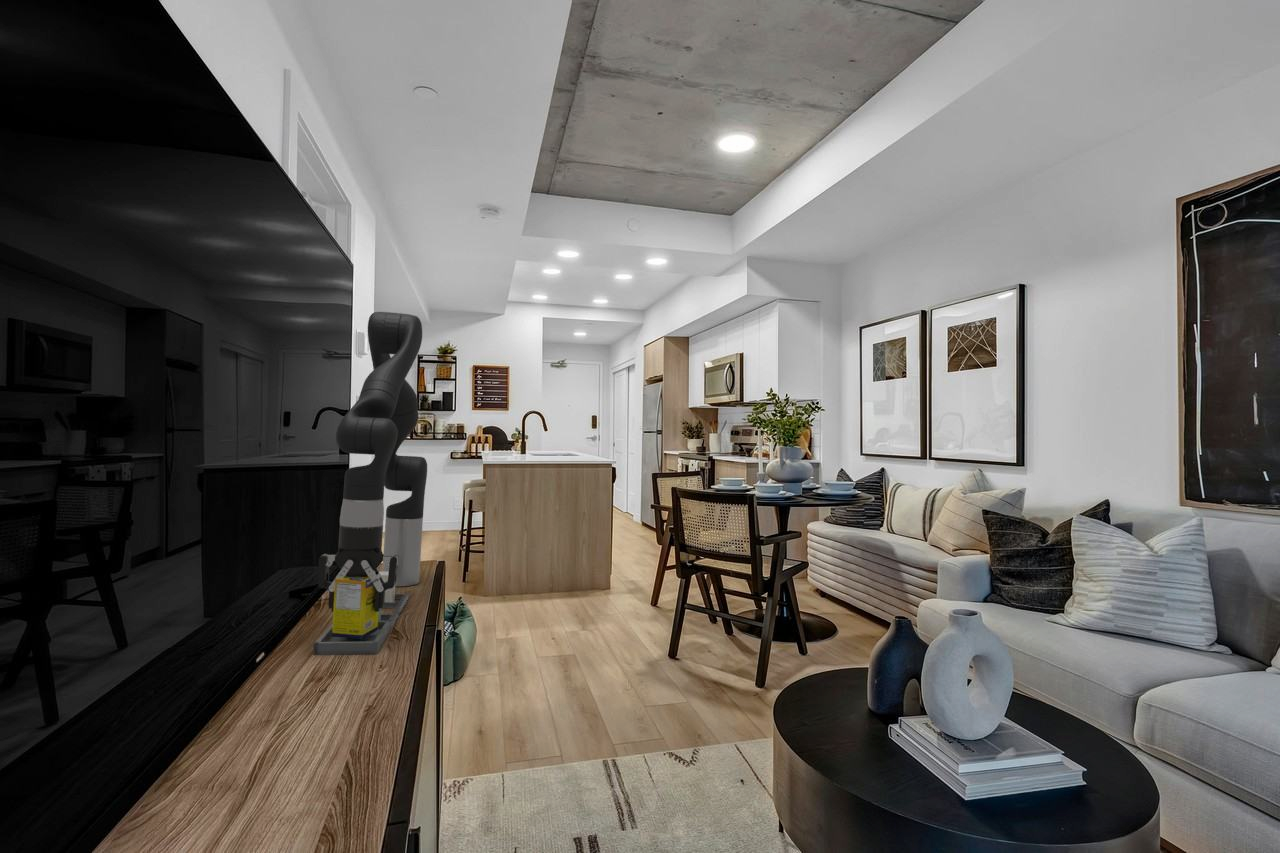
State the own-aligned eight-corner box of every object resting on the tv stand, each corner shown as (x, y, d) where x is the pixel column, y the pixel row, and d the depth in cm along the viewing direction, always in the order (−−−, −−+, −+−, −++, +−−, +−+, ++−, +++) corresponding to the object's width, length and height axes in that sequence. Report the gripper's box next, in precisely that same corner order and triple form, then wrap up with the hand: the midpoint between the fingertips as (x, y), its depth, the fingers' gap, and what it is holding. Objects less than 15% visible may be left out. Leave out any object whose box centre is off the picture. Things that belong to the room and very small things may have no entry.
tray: (333, 631, 125) (334, 621, 125) (389, 630, 127) (390, 620, 127) (313, 654, 112) (314, 643, 112) (376, 653, 114) (377, 642, 114)
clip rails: (360, 599, 149) (361, 592, 150) (408, 599, 152) (408, 592, 152) (332, 631, 125) (333, 623, 125) (389, 631, 127) (390, 623, 127)
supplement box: (378, 630, 123) (381, 573, 123) (361, 640, 117) (365, 580, 117) (348, 627, 123) (352, 571, 123) (330, 637, 117) (334, 577, 117)
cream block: (371, 601, 148) (373, 571, 148) (394, 601, 149) (396, 571, 149) (368, 606, 144) (370, 575, 144) (391, 606, 145) (393, 575, 145)
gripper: (405, 521, 125) (399, 605, 125) (326, 518, 122) (320, 605, 122) (398, 526, 118) (393, 616, 118) (315, 524, 115) (308, 616, 115)
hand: (356, 610), depth 120 cm, fingers closed on supplement box, 7 cm apart
